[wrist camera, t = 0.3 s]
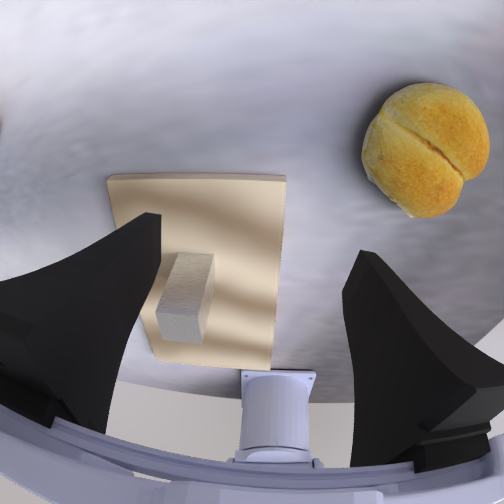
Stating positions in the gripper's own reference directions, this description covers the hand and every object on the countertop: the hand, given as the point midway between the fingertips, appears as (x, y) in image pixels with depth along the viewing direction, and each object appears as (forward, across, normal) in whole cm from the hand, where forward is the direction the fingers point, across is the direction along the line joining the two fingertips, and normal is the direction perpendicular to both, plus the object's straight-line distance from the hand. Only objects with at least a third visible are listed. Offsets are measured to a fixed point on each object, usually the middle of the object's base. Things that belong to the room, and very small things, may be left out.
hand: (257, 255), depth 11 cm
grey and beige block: (+10, +3, +8) cm, 13 cm away
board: (+10, +3, +12) cm, 16 cm away
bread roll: (+10, -10, -4) cm, 15 cm away
